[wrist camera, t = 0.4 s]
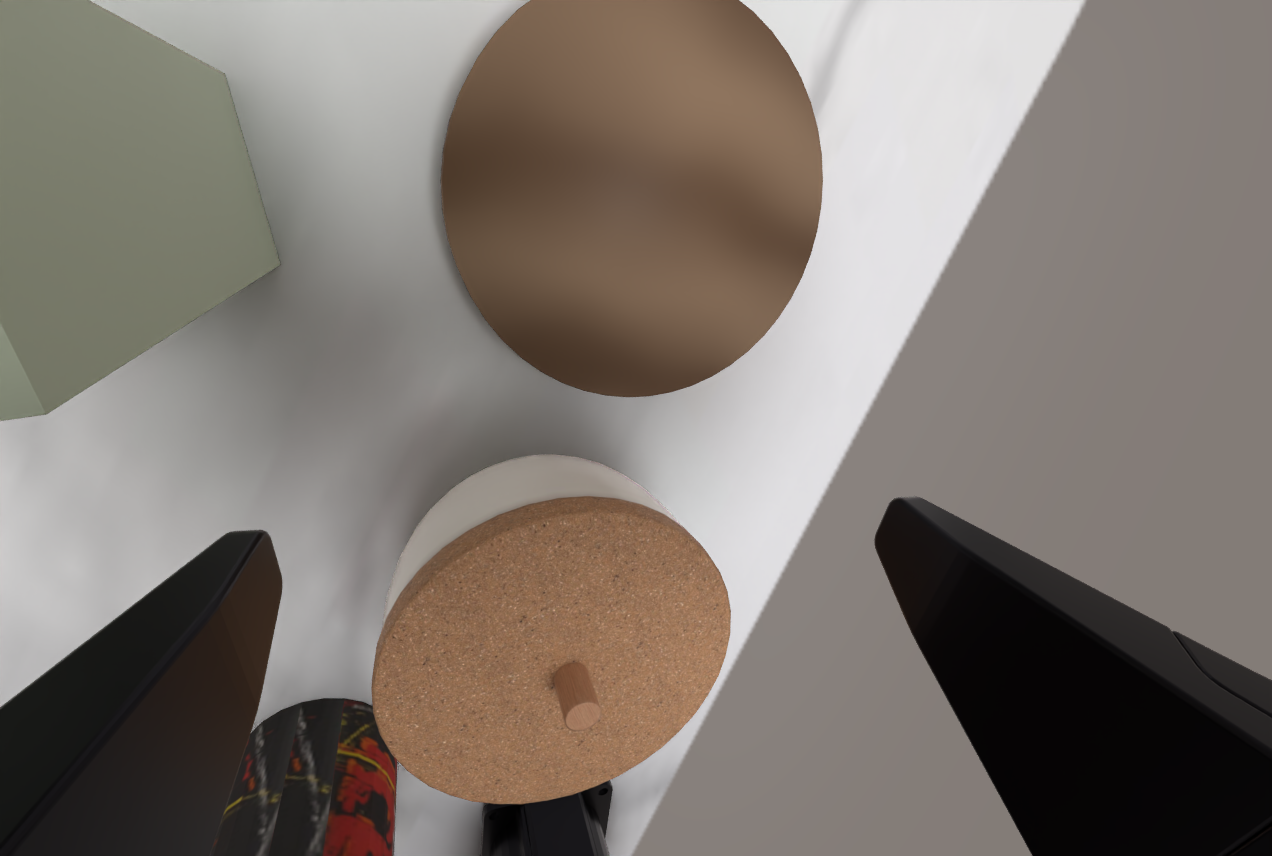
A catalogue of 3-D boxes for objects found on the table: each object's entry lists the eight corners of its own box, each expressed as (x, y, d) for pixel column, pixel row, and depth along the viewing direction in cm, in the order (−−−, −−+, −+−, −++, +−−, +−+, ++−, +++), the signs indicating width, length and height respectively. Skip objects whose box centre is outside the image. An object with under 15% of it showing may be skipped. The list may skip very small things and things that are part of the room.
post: (280, 264, 18) (46, 414, 7) (81, 283, 17) (-643, 513, 5) (224, 74, 16) (-254, -185, 5) (-7, 77, 15) (-1513, -280, 3)
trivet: (760, 388, 25) (779, 399, 24) (438, 380, 21) (440, 394, 19) (834, 33, 21) (862, 23, 19) (443, -76, 16) (445, -98, 15)
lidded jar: (609, 369, 23) (718, 478, 14) (675, 575, 28) (785, 743, 19) (330, 480, 21) (273, 677, 13) (454, 680, 26) (471, 914, 18)
